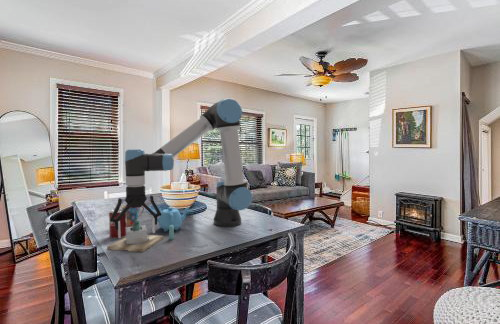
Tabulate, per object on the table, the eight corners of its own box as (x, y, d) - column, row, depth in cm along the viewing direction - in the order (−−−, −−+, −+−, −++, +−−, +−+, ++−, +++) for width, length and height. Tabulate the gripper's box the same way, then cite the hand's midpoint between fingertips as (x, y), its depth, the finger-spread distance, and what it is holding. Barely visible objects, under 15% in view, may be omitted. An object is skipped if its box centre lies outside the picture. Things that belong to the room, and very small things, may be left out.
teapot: (152, 231, 135) (151, 209, 134) (172, 222, 147) (171, 202, 146) (171, 235, 129) (170, 212, 128) (190, 226, 141) (190, 205, 140)
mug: (128, 229, 136) (128, 208, 135) (118, 226, 141) (117, 206, 140) (149, 223, 146) (148, 204, 145) (138, 221, 151) (138, 202, 150)
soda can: (115, 240, 120) (114, 213, 119) (106, 237, 124) (105, 211, 123) (130, 235, 126) (129, 210, 126) (121, 233, 130) (120, 208, 129)
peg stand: (163, 238, 122) (162, 216, 122) (143, 251, 106) (142, 226, 106) (131, 236, 125) (130, 215, 124) (107, 249, 109) (106, 224, 109)
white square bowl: (145, 235, 121) (145, 224, 121) (147, 241, 114) (147, 229, 114) (125, 238, 117) (125, 227, 117) (126, 244, 110) (126, 232, 110)
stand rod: (174, 238, 122) (174, 225, 122) (172, 239, 120) (172, 226, 120) (170, 238, 123) (170, 225, 122) (168, 239, 121) (168, 226, 120)
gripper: (163, 182, 124) (164, 228, 125) (102, 186, 111) (103, 237, 113) (167, 184, 117) (168, 232, 118) (102, 189, 105) (104, 242, 106)
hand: (137, 234), depth 116 cm, fingers open, 13 cm apart
